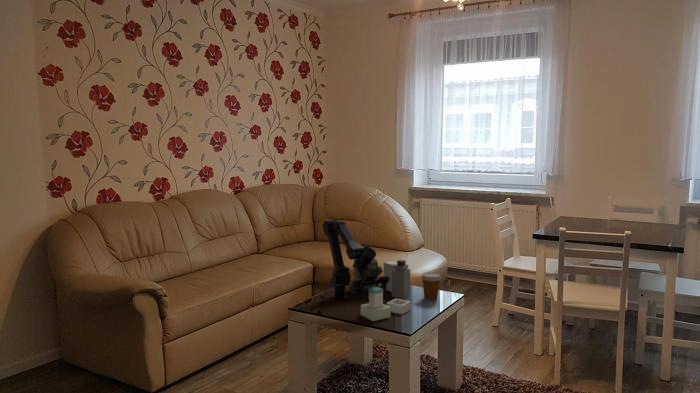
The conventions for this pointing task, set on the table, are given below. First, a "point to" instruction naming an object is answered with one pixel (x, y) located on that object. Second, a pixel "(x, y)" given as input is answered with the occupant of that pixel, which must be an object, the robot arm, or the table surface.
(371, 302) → the plug
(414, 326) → the table surface
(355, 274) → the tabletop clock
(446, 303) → the table surface
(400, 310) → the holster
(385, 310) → the socket block
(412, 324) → the table surface
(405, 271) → the perfume bottle
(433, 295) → the disposable coffee cup
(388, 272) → the skincare box
